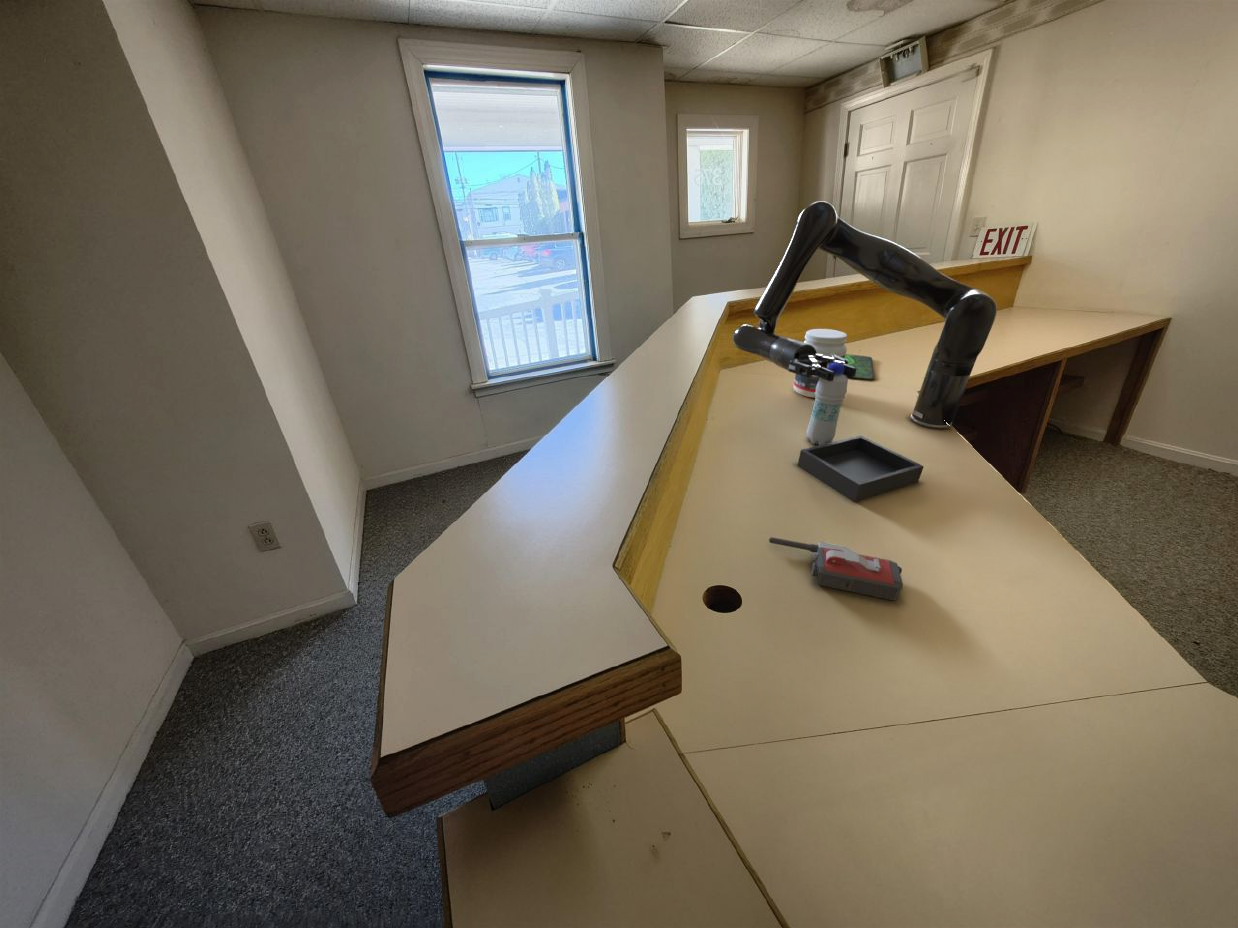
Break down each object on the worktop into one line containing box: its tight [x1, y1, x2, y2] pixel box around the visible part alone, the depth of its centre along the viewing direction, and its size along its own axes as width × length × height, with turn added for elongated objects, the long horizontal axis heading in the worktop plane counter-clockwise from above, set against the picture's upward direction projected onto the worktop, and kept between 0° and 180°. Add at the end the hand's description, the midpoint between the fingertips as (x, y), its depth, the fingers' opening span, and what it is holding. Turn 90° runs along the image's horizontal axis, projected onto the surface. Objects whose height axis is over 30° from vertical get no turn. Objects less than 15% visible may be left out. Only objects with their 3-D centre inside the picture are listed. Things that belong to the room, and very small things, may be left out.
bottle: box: [806, 363, 849, 446], centre depth 107 cm, size 7×7×20 cm
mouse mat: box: [844, 353, 875, 381], centre depth 165 cm, size 27×22×1 cm
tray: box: [797, 435, 925, 503], centre depth 98 cm, size 18×16×4 cm
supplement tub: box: [792, 328, 848, 399], centre depth 137 cm, size 13×13×18 cm
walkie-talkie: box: [768, 536, 904, 601], centre depth 72 cm, size 9×4×20 cm
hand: (843, 374), depth 101 cm, fingers closed on bottle, 5 cm apart
